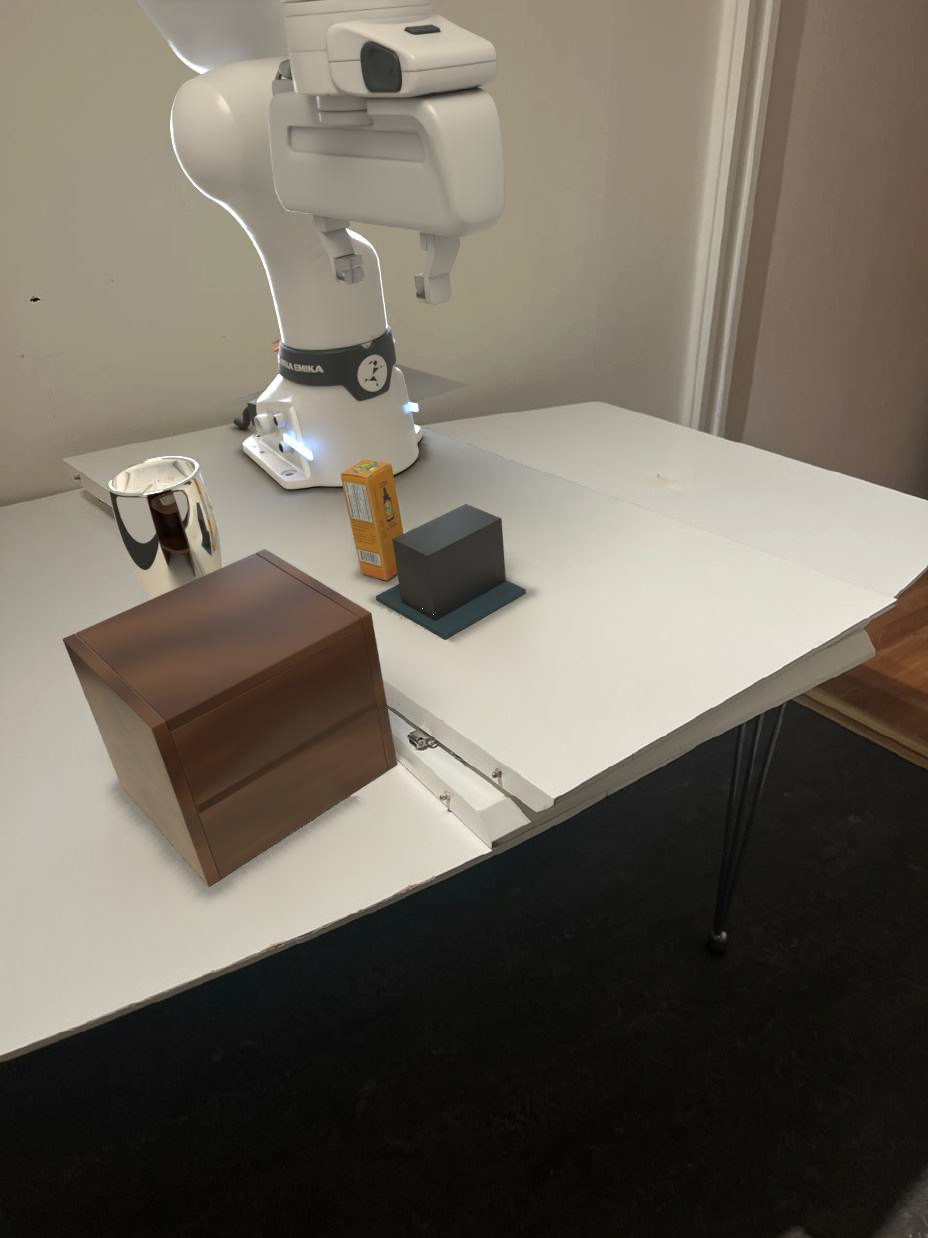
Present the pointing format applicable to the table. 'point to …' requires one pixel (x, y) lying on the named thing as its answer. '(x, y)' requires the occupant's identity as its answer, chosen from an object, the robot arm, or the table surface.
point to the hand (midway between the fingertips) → (389, 291)
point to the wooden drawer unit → (238, 707)
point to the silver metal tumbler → (165, 522)
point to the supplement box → (373, 516)
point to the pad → (460, 616)
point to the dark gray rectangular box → (450, 560)
